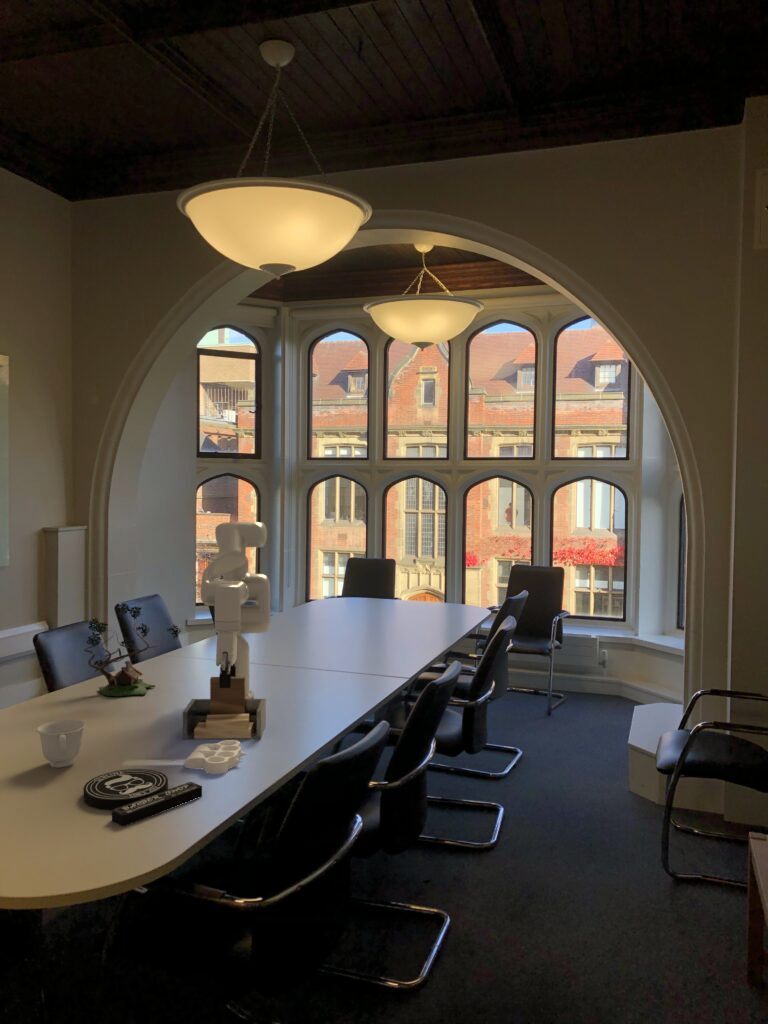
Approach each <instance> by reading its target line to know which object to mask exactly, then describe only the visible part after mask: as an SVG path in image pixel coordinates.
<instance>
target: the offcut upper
mask: <svg viewBox="0 0 768 1024" xmlns="http://www.w3.org/2000/svg"><path fill="white" fill-rule="evenodd" d="M229 729H249V714H222V715H207V719H206V730H229Z"/></svg>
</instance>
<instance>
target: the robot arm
mask: <svg viewBox="0 0 768 1024" xmlns="http://www.w3.org/2000/svg"><path fill="white" fill-rule="evenodd" d="M214 530H215V532H214V533H215V534H214V535H215V540H216V544H217V547H218V556H217V557H215V558H214V559H213V560H211V561H210V562H209V563H208V565H207V566H206V567H205V569H204V570H203V573H202V575H201V584H200V600H201V603H203V605H206V606H208V607H209V606H210V607H211V606H214V632H215V633H217V636H216V653H215V665H216V666H217V667H219V666H220V667H219V676H218V677H219V687H220V688H230V687H231V677H245V699H254V697H255V693H254V691H252V690H250V645H249V642H248V641H247V640H246V639H245V637H244V636H243V634H265V633H266V632H268V631H269V630H270V627H271V584H270V583H271V582H270V579H269V577H268V576H267V575H266V574H263V573H249V558H248V557H247V555H246V554H247V552H246V550H247V549H246V548H263V547H264V546H265V545H266V543H267V540H268V538H267V537H268V530H267V527H266V524H265V523H264V522H262V521H231V522H230V521H228V522H222V523H220V524H218V525H216V527H215V528H214ZM221 576H222V577H223V579H222V580H216V579H217V578H220V577H221ZM246 602H255V603H256V605H255V604H254V605H253V604H251V605H246V604H245V603H246Z"/></svg>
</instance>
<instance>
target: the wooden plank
mask: <svg viewBox="0 0 768 1024" xmlns="http://www.w3.org/2000/svg"><path fill="white" fill-rule="evenodd" d="M209 683H210V684H209V685H210V686H209V694H210V695H209V696H210V697H209V699H210V715H222V714H245V677H231V687H230V688H220V687H219V676H211V677H210V678H209Z"/></svg>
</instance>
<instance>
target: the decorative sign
mask: <svg viewBox="0 0 768 1024" xmlns="http://www.w3.org/2000/svg"><path fill="white" fill-rule="evenodd" d="M201 796H202V797H203V786H202V785H201V784H198V783H195V782H192V781H188V782H186V783H183V784H180V785H177V786H174V787H171V788H169V778H168V777H167V775H166V774H164V773H162V771H161V772H160V771H157V770H152V769H145V768H131V769H130V768H129V769H120V770H115V771H110V772H107V773H103V774H100V775H98V776H95V777H93V778H91V779H90V780H89V781H87V782H86V783H85V784H84V786H83V802H84V804H86V805H87V806H88V807H91V808H93V809H97V810H101V811H111V822H112V821H113V823H114V822H115V824H116V823H117V825H118V824H119V825H118V826H120V825H121V826H120V827H126V825H127V826H130V825H132V824H134V823H137V822H139V820H140V821H143V820H145V819H147V817H148V818H150V817H153V816H155V814H156V815H158V814H161V813H163V812H162V811H164V810H166V811H168V810H167V809H169V810H171V809H170V808H172V807H174V808H176V807H175V806H177V805H180V804H182V803H185V802H188V801H190V800H193V799H195V798H198V797H201ZM202 797H201V798H202ZM198 799H199V798H198ZM193 801H194V800H193ZM190 802H191V801H190ZM188 803H189V802H188ZM185 804H186V803H185ZM182 805H183V804H182ZM180 806H181V805H180ZM177 807H178V806H177ZM172 809H173V808H172ZM160 812H161V813H160ZM164 812H165V811H164ZM152 815H153V816H152ZM144 818H145V819H144ZM136 821H137V822H136ZM131 823H132V824H131Z"/></svg>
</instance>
